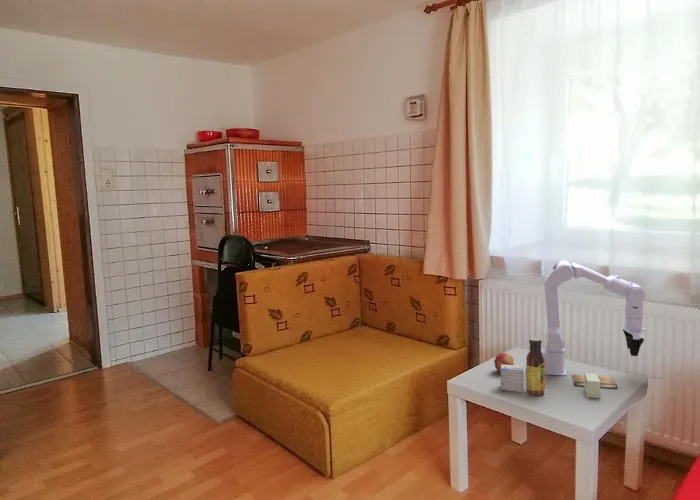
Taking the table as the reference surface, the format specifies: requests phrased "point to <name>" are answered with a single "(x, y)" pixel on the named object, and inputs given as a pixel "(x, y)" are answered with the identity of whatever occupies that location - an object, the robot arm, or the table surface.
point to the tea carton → (592, 385)
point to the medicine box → (512, 378)
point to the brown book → (604, 381)
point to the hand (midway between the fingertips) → (632, 352)
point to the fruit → (503, 360)
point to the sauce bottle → (535, 368)
